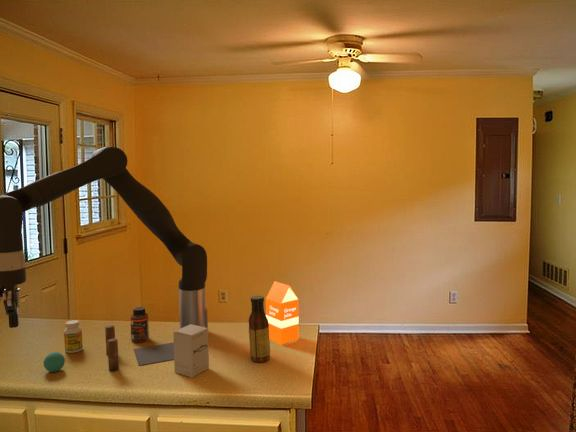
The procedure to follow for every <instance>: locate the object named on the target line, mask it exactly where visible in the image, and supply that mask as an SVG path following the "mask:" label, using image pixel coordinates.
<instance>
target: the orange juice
mask: <svg viewBox="0 0 576 432" xmlns="http://www.w3.org/2000/svg"><path fill="white" fill-rule="evenodd" d="M265 315H266V317H267V320H268V323H269V340H272V341H274V342H273V343H275V342H276V343H275V344H277V343H278V344H277V345H279V344H281V345H282V344H285V343H287V342H290V341H293V340H297V339H299V338H300V337H299V334H300V333H299V328H300V327H299V319H300V317H299V298H298V296H297V295H296V293H295V292H294V290H293V289H292V287H291V286H290V285H288V284H285V283H282V282H279V281H276V280H274V281H273V284H272V285H271V288H270V289H269V291H268V294H267V295H266V297H265ZM272 341H271V342H272ZM281 345H280V346H281Z"/></svg>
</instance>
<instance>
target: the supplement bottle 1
mask: <svg viewBox="0 0 576 432" xmlns="http://www.w3.org/2000/svg"><path fill="white" fill-rule="evenodd" d="M64 326H65V329H64V330H63V341H64V351H65V352H66V353H68V354H71V353H72V354H74V352H75V353H78V352H80V351H82V350H83V348H84V345H83V331H82V327H81V326H80V321H79V320H77V319H75V320H68V321H66V322H65V325H64Z"/></svg>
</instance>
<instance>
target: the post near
mask: <svg viewBox="0 0 576 432" xmlns="http://www.w3.org/2000/svg"><path fill="white" fill-rule="evenodd" d="M107 343H108V355H107V363H108V372H112V373H113V372H114V373H115V372H117V371H119V370H120V366H119V365H120V363H119V341H118V339H117V338H115V339H109V340H108V341H107Z"/></svg>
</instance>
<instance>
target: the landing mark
mask: <svg viewBox="0 0 576 432" xmlns="http://www.w3.org/2000/svg"><path fill="white" fill-rule="evenodd" d="M133 352H134V355H135V358H136V361H137V365H138V367H141V366H146V365H152V364H156V363H158V364H159V363H163V362H164V363H165V362H169V361H174V341H173V342H169V343H168V342H167V343H162V344H156V345H151V346H150V345H149V346H143V347H139V348H133Z"/></svg>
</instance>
